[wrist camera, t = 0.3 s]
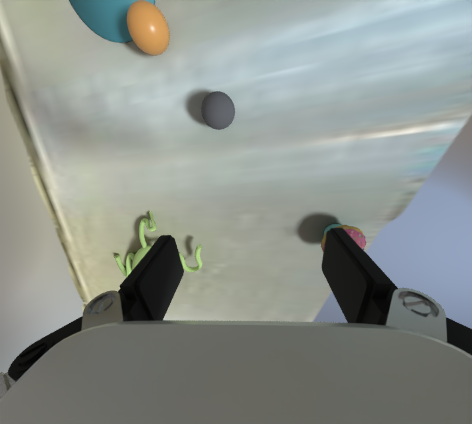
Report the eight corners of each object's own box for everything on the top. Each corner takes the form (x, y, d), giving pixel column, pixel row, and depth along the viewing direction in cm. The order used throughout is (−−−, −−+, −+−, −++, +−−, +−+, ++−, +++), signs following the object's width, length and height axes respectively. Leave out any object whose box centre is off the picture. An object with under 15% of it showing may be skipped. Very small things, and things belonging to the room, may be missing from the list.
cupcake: (334, 251, 44) (360, 293, 33) (307, 236, 43) (325, 274, 32) (362, 226, 40) (401, 265, 30) (333, 209, 39) (363, 242, 28)
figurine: (215, 246, 47) (211, 261, 42) (164, 291, 57) (156, 307, 52) (156, 201, 42) (144, 212, 37) (112, 259, 52) (97, 274, 48)
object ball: (141, 7, 26) (116, -19, 21) (177, 20, 27) (160, -2, 22) (140, 53, 29) (117, 40, 24) (173, 65, 29) (157, 54, 24)
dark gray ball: (209, 89, 30) (201, 83, 25) (239, 99, 31) (237, 96, 26) (203, 123, 33) (194, 124, 28) (231, 132, 33) (227, 135, 28)
